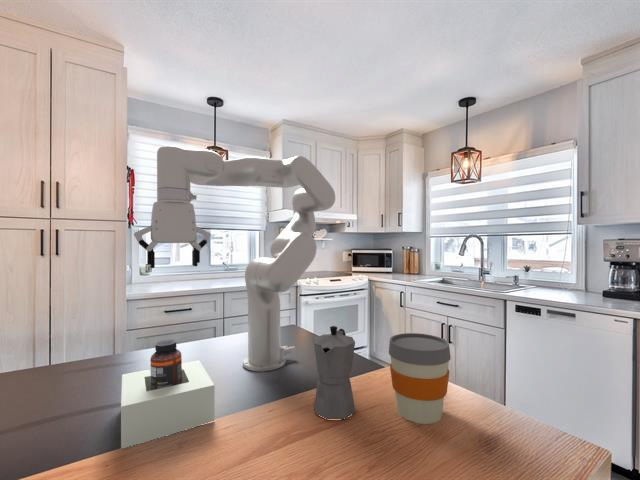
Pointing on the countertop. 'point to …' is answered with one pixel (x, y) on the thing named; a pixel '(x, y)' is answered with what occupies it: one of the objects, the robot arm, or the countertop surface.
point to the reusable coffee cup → (419, 375)
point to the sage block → (165, 404)
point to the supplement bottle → (166, 365)
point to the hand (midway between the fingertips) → (174, 266)
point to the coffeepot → (334, 374)
